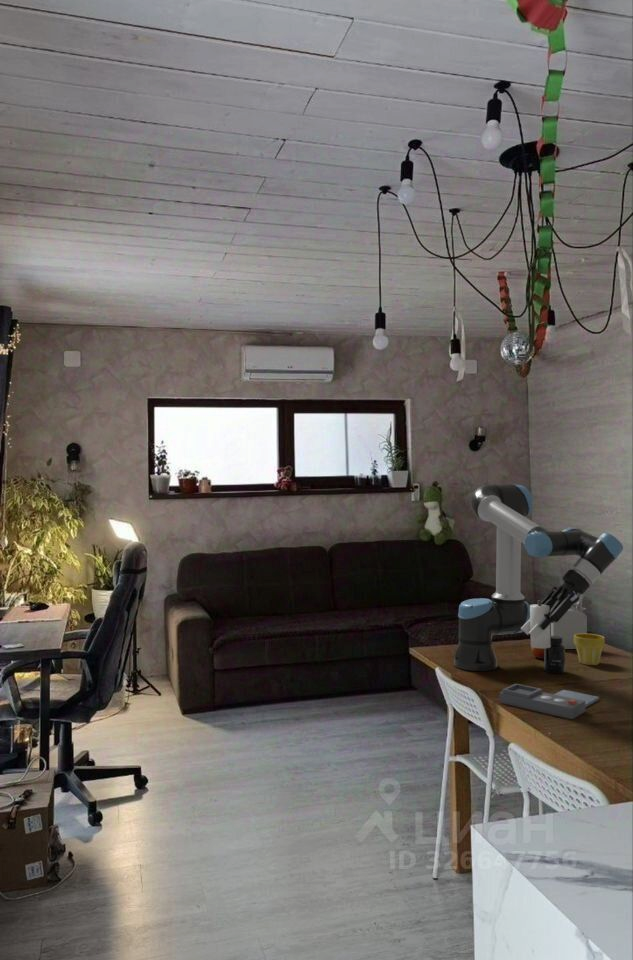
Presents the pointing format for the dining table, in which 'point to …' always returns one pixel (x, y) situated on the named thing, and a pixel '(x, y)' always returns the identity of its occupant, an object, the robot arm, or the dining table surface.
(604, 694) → the dining table surface
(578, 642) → the plant pot
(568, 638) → the gas can
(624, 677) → the dining table surface
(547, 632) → the paper towel holder
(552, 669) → the supplement bottle
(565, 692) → the mat
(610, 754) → the dining table surface
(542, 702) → the grey control panel
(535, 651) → the fruit
